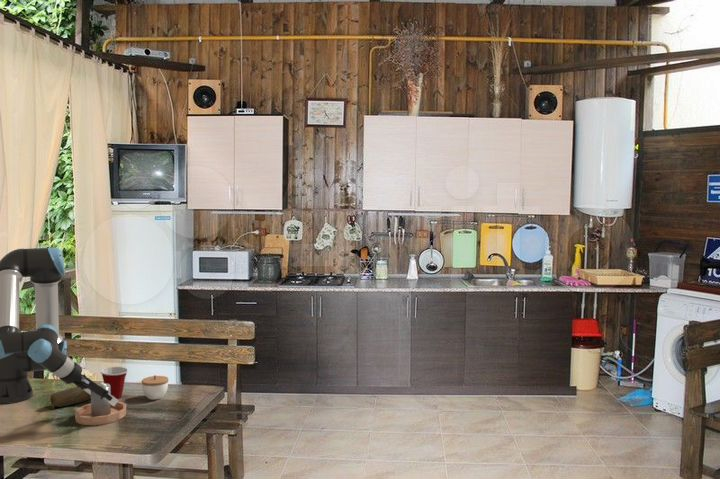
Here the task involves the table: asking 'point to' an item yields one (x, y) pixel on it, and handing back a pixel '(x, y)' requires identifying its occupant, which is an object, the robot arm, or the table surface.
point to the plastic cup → (115, 379)
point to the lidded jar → (155, 386)
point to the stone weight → (69, 397)
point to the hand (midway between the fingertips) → (106, 399)
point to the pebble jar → (100, 402)
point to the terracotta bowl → (85, 416)
